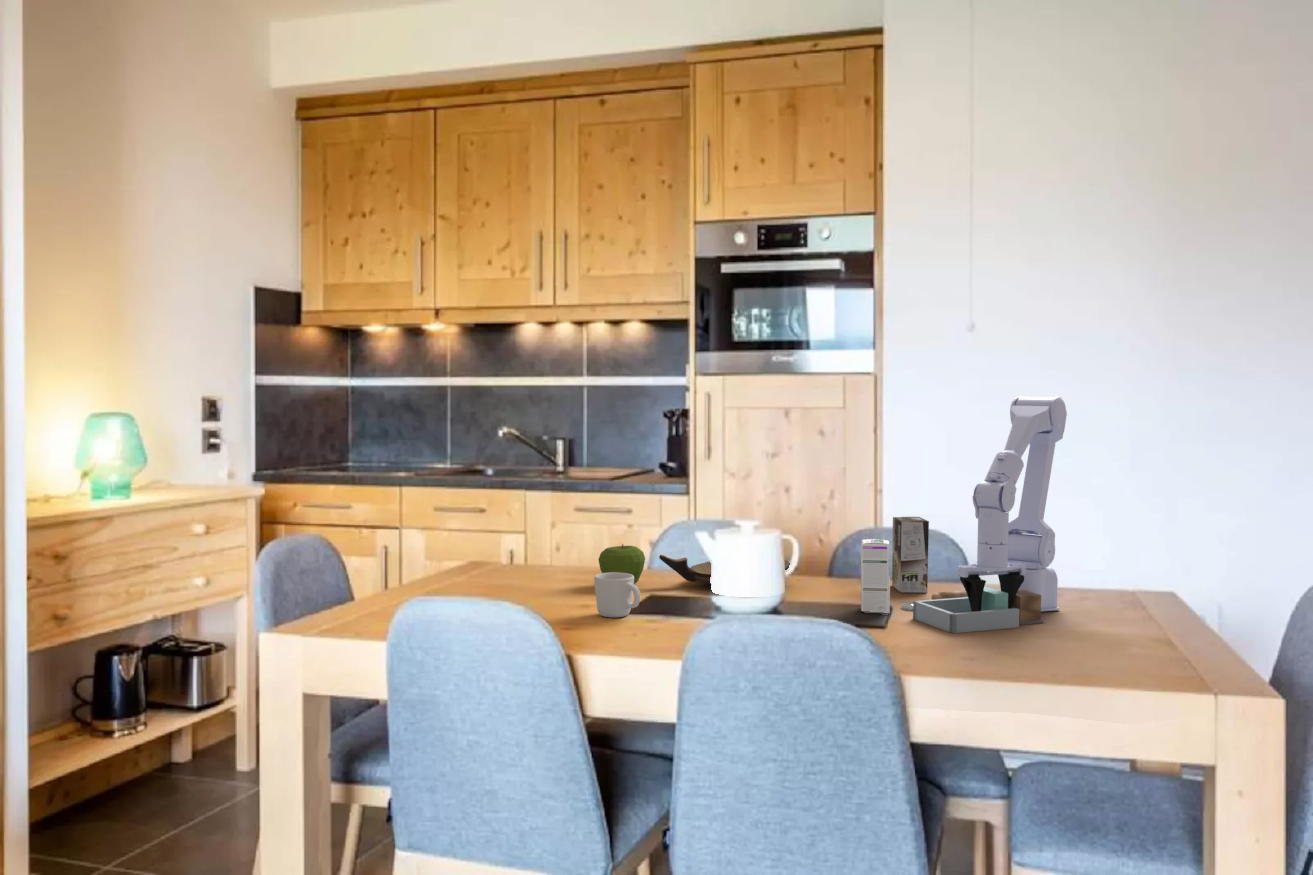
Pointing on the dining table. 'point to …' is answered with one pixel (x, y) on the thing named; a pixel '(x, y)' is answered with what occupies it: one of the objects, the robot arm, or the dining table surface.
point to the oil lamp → (693, 569)
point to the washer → (907, 606)
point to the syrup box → (875, 575)
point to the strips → (1030, 622)
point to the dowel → (949, 595)
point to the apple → (622, 560)
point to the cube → (1028, 605)
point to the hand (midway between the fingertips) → (991, 611)
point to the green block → (994, 599)
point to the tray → (962, 616)
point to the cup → (615, 594)
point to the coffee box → (910, 554)
